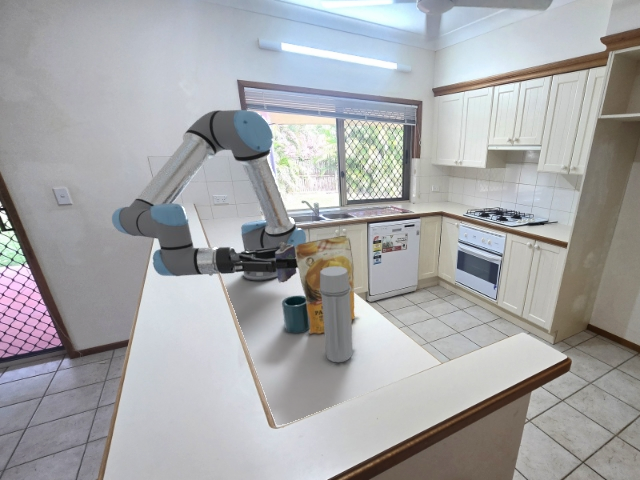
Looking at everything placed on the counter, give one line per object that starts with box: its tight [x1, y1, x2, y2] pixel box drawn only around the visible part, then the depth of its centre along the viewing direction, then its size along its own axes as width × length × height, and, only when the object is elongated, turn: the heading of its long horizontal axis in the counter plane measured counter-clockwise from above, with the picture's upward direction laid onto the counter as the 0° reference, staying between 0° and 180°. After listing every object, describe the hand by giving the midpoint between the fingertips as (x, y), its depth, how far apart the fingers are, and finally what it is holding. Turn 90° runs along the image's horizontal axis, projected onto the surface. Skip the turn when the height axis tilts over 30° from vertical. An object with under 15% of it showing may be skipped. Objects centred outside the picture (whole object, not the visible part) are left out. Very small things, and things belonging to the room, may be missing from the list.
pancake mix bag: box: [294, 235, 356, 335], centre depth 99 cm, size 7×19×28 cm, turn 129°
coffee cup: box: [281, 295, 310, 334], centre depth 102 cm, size 8×8×9 cm
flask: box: [275, 242, 298, 283], centre depth 97 cm, size 9×3×11 cm, turn 171°
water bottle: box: [319, 266, 354, 363], centre depth 84 cm, size 9×8×25 cm
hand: (301, 257), depth 97 cm, fingers closed on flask, 9 cm apart
